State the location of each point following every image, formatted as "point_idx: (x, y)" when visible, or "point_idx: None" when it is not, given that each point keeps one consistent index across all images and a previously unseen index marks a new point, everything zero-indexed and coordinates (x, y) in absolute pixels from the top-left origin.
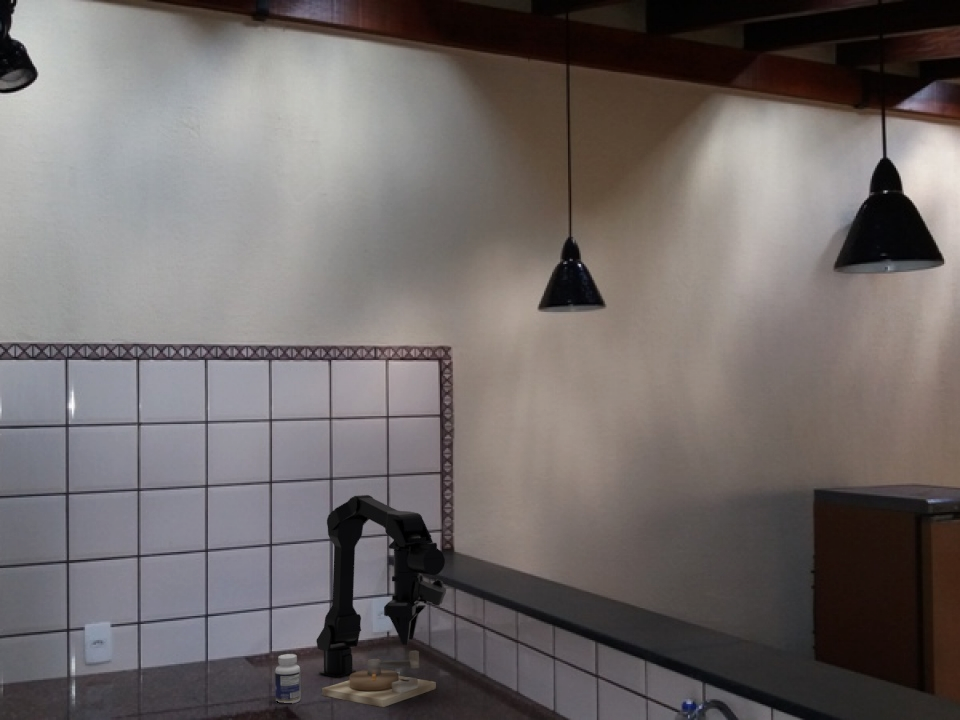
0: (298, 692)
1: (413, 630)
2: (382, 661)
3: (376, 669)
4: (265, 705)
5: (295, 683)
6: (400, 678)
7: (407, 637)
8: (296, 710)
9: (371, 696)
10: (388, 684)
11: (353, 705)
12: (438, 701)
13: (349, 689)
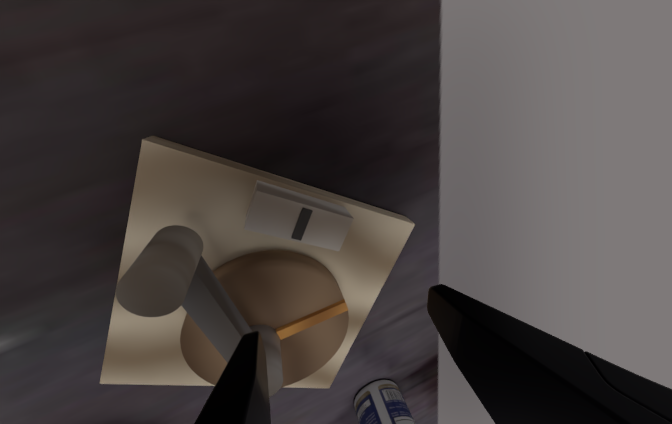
0: (388, 397)
1: (252, 399)
2: None
3: (274, 344)
4: None
5: (406, 418)
6: None
7: (496, 313)
8: (432, 352)
9: (383, 265)
10: (313, 264)
11: (393, 284)
12: (325, 70)
13: None
